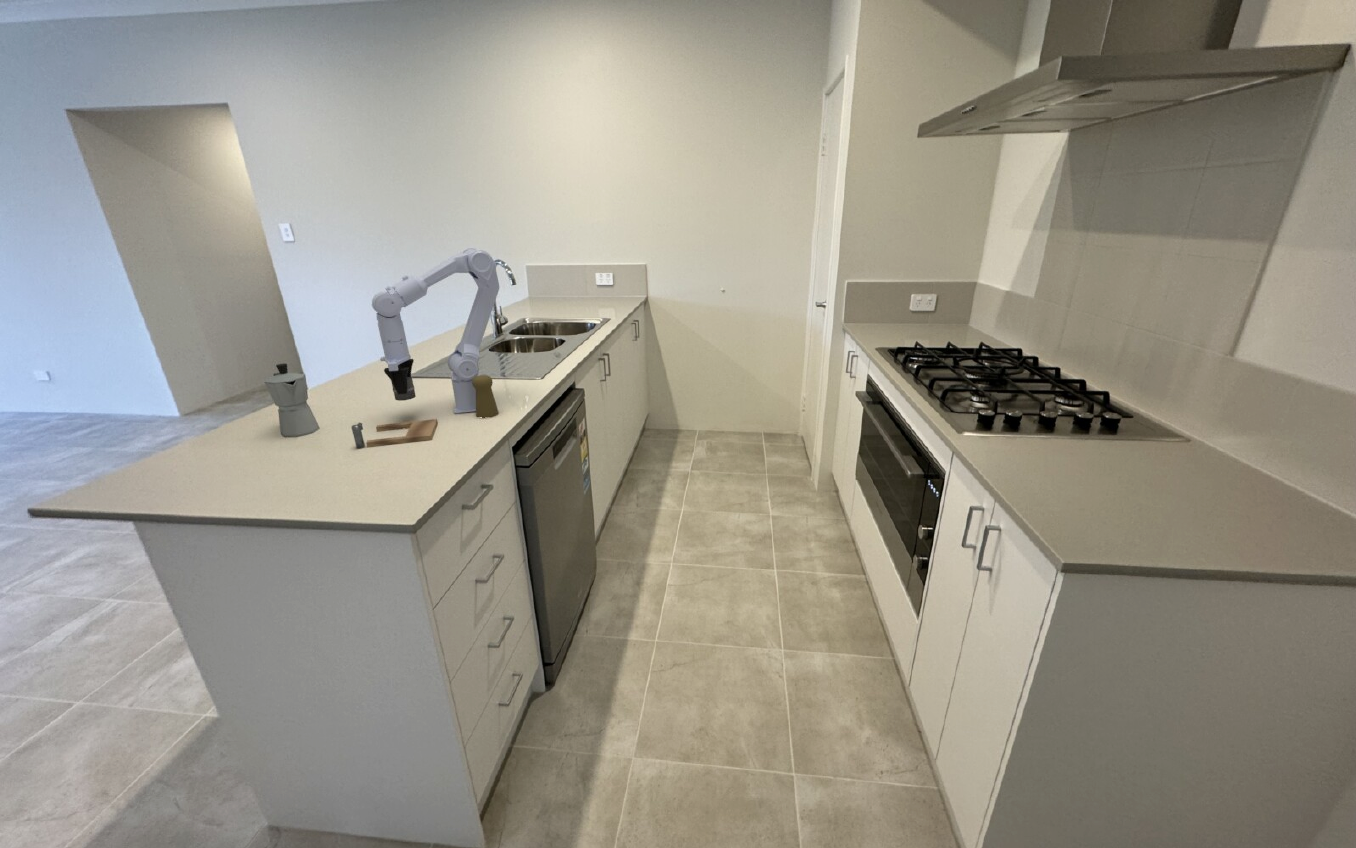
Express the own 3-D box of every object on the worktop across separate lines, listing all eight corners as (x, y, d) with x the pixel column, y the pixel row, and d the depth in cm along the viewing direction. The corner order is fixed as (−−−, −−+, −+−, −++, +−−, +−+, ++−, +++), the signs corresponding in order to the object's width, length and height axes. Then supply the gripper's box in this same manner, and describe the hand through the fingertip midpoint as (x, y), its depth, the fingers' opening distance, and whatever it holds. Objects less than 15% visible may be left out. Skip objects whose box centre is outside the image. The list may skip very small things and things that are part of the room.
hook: (368, 440, 136) (363, 420, 134) (364, 448, 132) (358, 426, 130) (360, 441, 136) (355, 420, 134) (355, 449, 132) (350, 427, 130)
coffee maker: (327, 432, 142) (309, 364, 136) (287, 442, 136) (266, 372, 130) (309, 419, 152) (292, 355, 145) (272, 428, 146) (251, 361, 139)
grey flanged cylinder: (417, 393, 150) (413, 376, 148) (414, 399, 146) (410, 381, 144) (396, 395, 149) (392, 377, 147) (393, 401, 144) (389, 383, 143)
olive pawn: (503, 412, 154) (498, 374, 150) (488, 419, 149) (482, 380, 145) (486, 409, 156) (481, 372, 152) (471, 416, 151) (464, 377, 147)
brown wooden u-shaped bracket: (437, 423, 147) (437, 418, 147) (431, 439, 136) (430, 435, 136) (378, 429, 143) (377, 425, 143) (367, 447, 133) (366, 442, 132)
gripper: (382, 335, 147) (393, 384, 152) (370, 347, 134) (382, 400, 139) (411, 333, 149) (421, 381, 154) (401, 345, 136) (412, 397, 141)
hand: (404, 390), depth 147 cm, fingers closed on grey flanged cylinder, 5 cm apart
